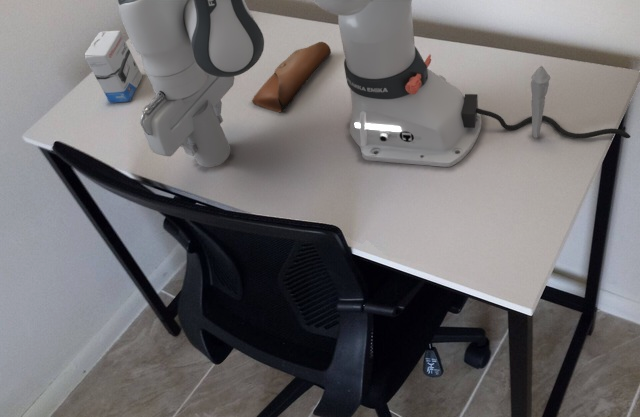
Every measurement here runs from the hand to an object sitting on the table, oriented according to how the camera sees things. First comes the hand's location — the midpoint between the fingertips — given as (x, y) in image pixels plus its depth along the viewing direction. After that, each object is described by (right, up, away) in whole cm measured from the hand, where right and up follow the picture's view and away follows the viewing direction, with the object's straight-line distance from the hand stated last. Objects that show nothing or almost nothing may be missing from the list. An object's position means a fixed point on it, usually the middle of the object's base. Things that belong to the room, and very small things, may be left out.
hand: (205, 137), depth 113 cm
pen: (+55, -1, -8) cm, 55 cm away
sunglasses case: (+15, +12, +14) cm, 24 cm away
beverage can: (+1, -3, +4) cm, 5 cm away
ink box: (-20, +12, +23) cm, 33 cm away
